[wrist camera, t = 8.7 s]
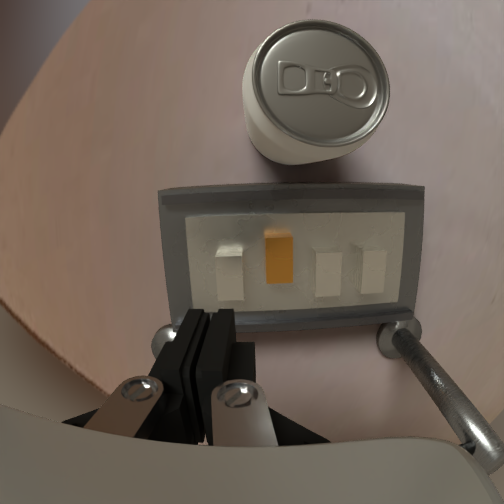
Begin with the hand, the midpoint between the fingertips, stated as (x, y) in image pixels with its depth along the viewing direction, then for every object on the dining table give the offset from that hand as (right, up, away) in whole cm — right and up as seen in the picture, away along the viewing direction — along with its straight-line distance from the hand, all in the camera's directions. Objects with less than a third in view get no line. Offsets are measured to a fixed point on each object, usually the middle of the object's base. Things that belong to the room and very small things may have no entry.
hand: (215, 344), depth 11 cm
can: (+4, +13, +11) cm, 18 cm away
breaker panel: (+5, +4, +13) cm, 14 cm away
